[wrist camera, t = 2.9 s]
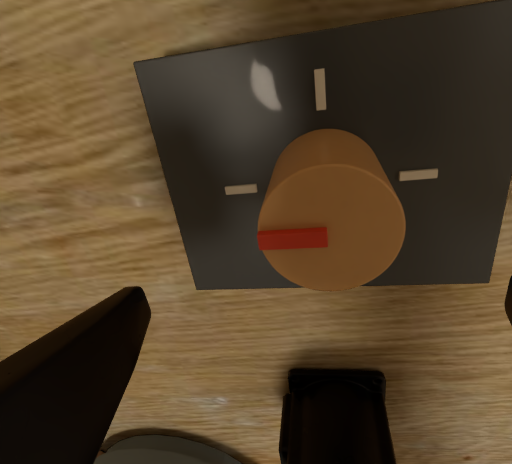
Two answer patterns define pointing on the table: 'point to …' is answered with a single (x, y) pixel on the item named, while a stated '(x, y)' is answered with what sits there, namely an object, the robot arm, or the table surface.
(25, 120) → the table surface
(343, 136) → the knob
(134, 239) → the table surface
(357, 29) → the panel
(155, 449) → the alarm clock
